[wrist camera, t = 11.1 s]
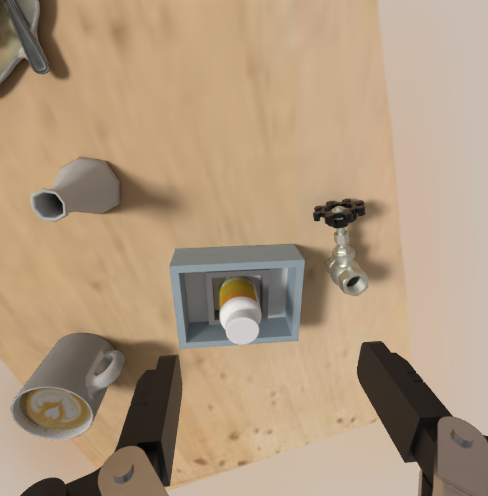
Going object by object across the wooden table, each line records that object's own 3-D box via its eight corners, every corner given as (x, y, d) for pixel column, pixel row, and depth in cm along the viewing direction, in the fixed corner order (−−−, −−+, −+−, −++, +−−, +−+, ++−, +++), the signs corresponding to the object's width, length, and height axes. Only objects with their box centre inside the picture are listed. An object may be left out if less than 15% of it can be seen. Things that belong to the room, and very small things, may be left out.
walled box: (175, 248, 40) (169, 266, 35) (293, 243, 41) (304, 259, 36) (184, 324, 45) (179, 348, 40) (289, 317, 46) (298, 340, 41)
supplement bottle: (212, 282, 41) (211, 324, 32) (246, 266, 41) (253, 305, 32) (229, 309, 43) (232, 356, 34) (260, 295, 43) (272, 338, 34)
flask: (129, 209, 37) (100, 235, 28) (74, 218, 37) (27, 247, 28) (111, 151, 34) (72, 159, 25) (51, 161, 34) (-10, 173, 25)
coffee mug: (70, 386, 48) (35, 447, 38) (40, 341, 44) (-7, 397, 35) (147, 367, 48) (130, 424, 38) (124, 320, 44) (99, 371, 34)
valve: (358, 269, 44) (351, 195, 39) (381, 291, 38) (376, 206, 33) (317, 279, 44) (305, 207, 39) (333, 303, 38) (321, 221, 33)
